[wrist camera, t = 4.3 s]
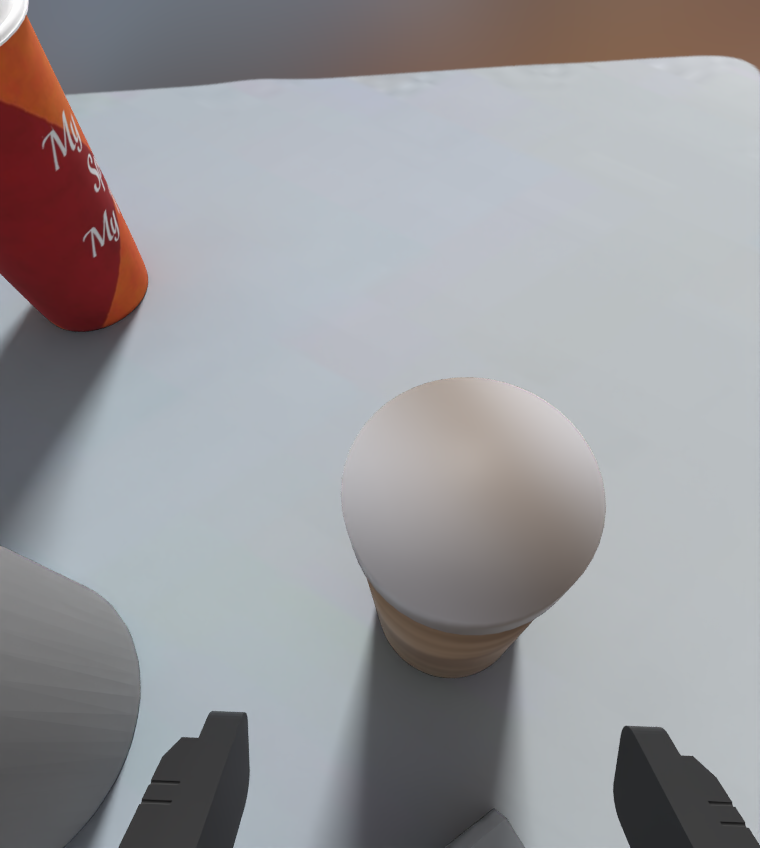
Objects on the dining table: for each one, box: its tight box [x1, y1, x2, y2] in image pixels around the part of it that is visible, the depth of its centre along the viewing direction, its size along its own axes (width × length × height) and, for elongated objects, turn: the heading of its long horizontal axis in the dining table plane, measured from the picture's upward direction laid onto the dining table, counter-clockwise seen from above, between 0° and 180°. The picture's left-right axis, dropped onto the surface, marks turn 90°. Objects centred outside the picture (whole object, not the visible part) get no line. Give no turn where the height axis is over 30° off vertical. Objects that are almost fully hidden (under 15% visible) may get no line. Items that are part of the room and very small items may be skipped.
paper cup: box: [0, 0, 148, 332], centre depth 24 cm, size 8×8×14 cm
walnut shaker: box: [341, 377, 606, 678], centre depth 17 cm, size 5×5×11 cm
